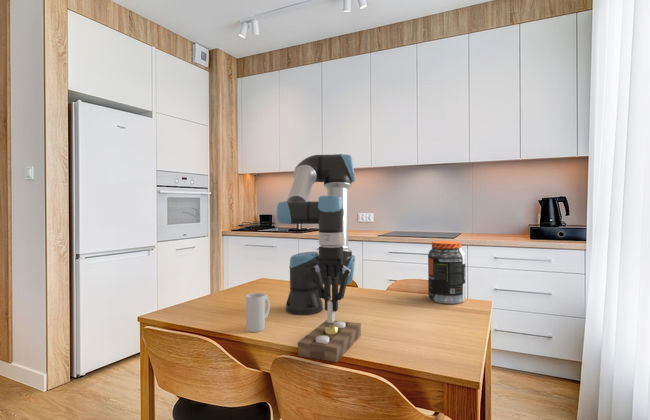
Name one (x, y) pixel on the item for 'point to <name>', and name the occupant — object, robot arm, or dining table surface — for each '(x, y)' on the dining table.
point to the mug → (256, 311)
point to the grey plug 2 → (340, 324)
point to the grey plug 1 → (322, 339)
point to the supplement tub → (446, 272)
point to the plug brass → (331, 329)
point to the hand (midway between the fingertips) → (331, 321)
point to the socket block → (334, 346)
